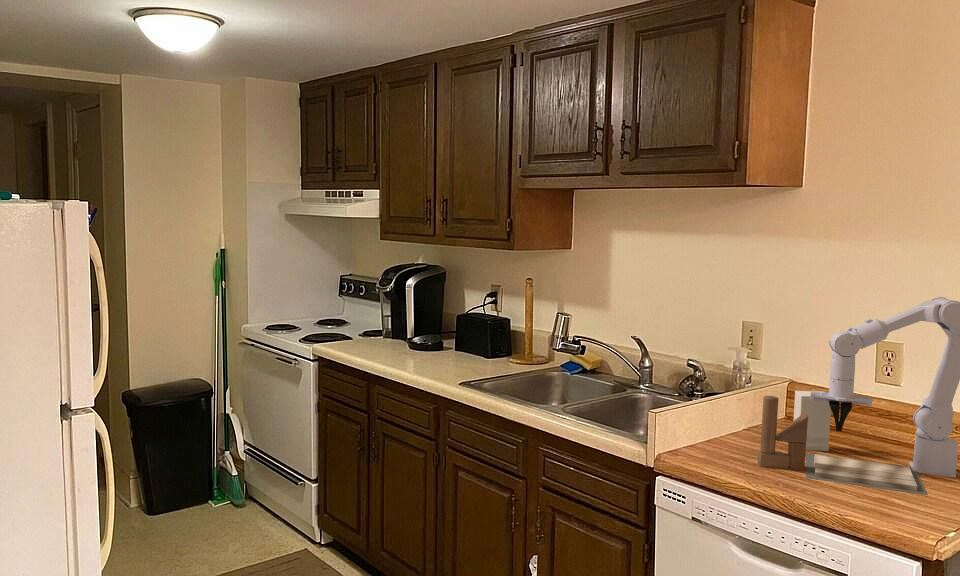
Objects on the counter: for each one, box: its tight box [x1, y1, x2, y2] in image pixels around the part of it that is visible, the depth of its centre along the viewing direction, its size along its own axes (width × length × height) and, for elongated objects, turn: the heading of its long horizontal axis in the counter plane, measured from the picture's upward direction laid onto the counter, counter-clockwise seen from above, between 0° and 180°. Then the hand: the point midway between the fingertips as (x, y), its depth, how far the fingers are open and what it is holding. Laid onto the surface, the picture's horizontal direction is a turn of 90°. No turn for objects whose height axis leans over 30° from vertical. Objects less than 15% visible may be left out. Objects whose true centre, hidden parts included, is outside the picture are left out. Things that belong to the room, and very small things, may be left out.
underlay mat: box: [805, 452, 929, 496], centre depth 197 cm, size 26×22×1 cm
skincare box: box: [793, 390, 832, 452], centre depth 218 cm, size 8×7×16 cm
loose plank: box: [814, 453, 913, 476], centre depth 200 cm, size 22×8×1 cm, turn 68°
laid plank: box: [815, 463, 917, 491], centre depth 192 cm, size 22×8×1 cm, turn 68°
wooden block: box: [757, 395, 808, 471], centre depth 200 cm, size 4×11×18 cm, turn 82°
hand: (838, 430), depth 205 cm, fingers closed
